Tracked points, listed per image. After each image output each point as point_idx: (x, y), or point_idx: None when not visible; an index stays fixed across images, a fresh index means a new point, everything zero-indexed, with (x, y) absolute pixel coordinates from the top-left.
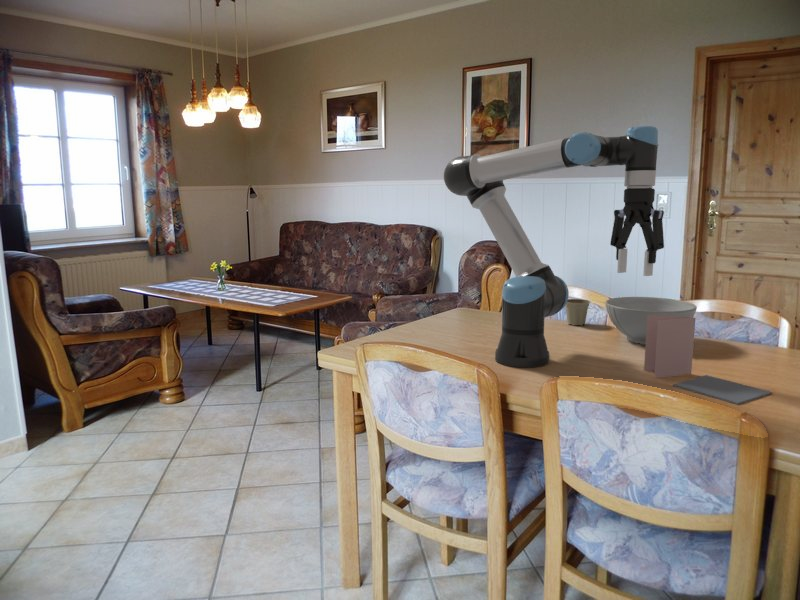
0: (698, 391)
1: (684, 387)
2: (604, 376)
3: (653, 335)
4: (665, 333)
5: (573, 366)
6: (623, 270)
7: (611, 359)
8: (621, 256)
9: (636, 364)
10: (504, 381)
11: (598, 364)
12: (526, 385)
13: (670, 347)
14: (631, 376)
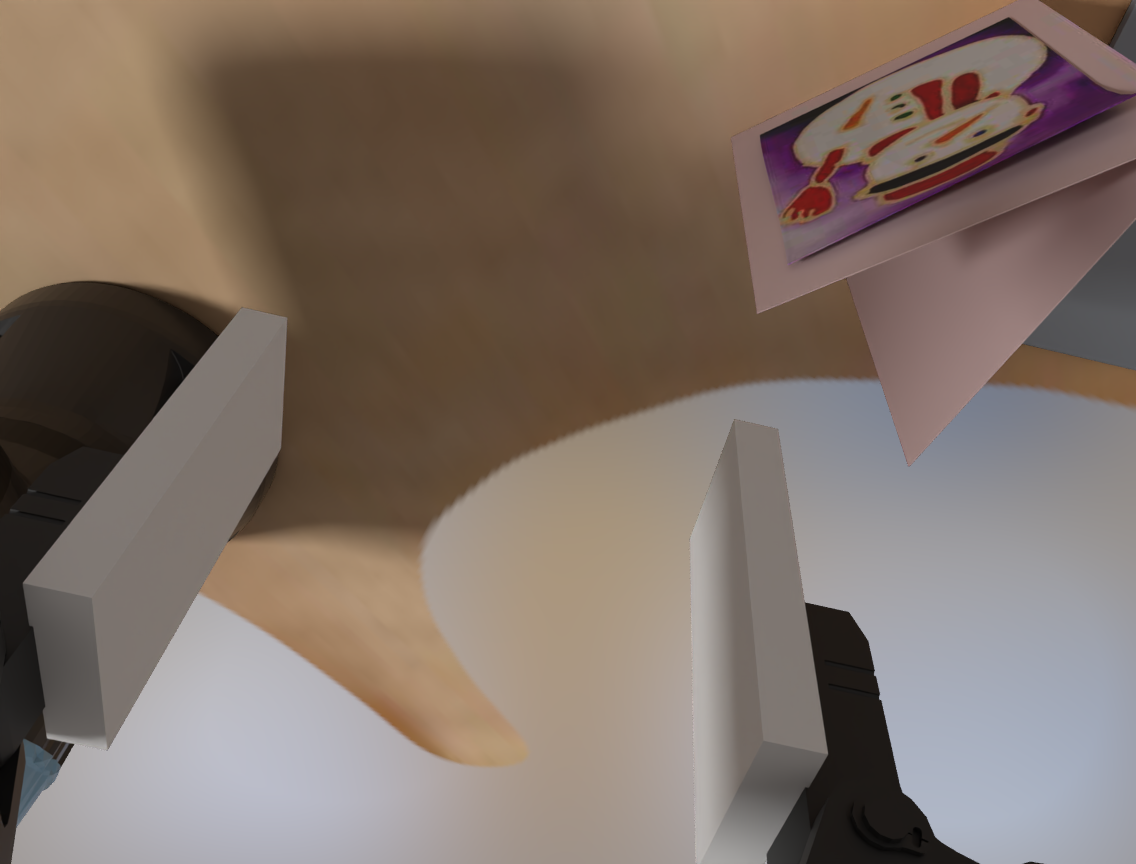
0: (1117, 364)
1: (1038, 346)
2: (606, 397)
3: (800, 213)
4: (938, 344)
5: (381, 340)
6: (272, 393)
7: (440, 23)
8: (176, 614)
9: (633, 25)
10: (343, 687)
11: (452, 206)
12: (435, 679)
13: (949, 244)
14: (719, 308)
